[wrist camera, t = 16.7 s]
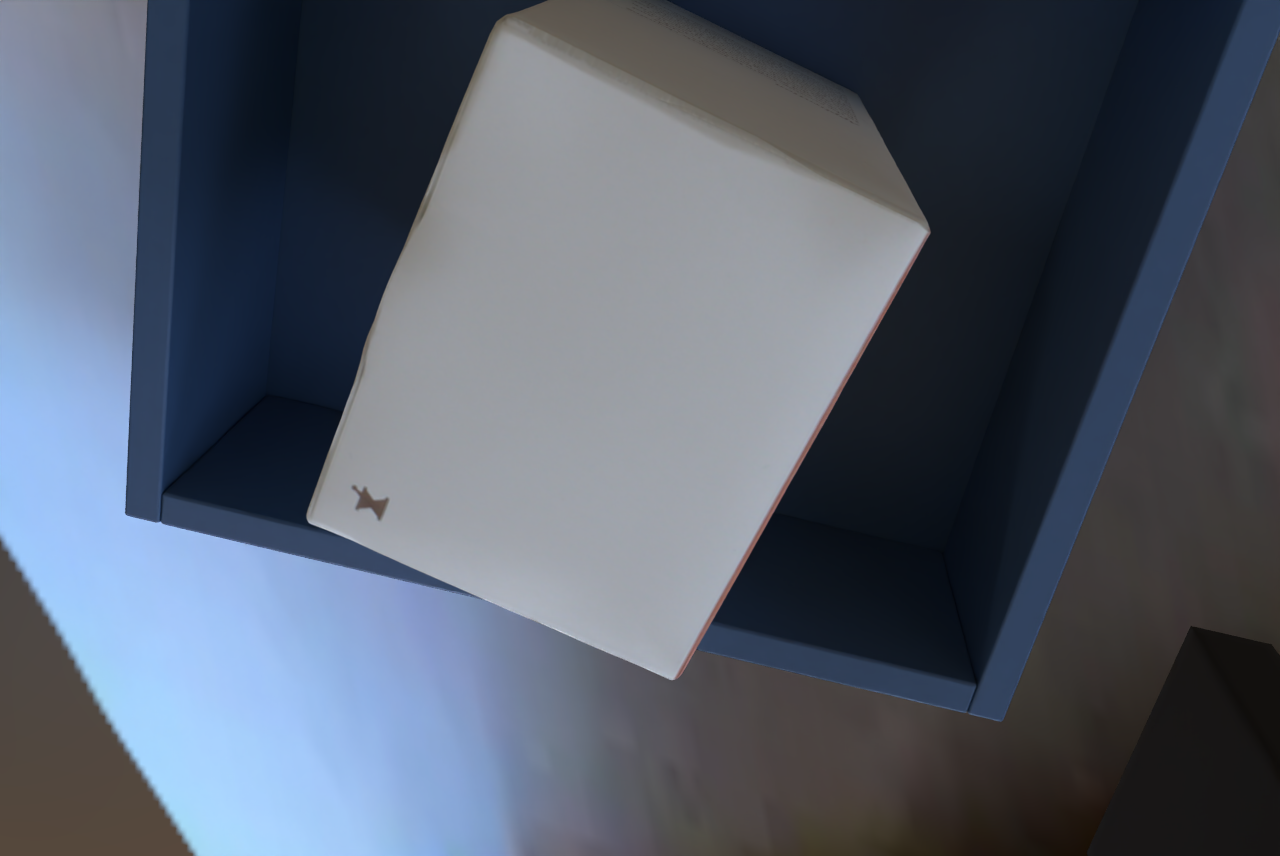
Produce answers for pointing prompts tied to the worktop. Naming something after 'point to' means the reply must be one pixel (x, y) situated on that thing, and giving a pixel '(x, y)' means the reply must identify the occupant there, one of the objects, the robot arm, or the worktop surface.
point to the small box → (618, 322)
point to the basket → (880, 383)
